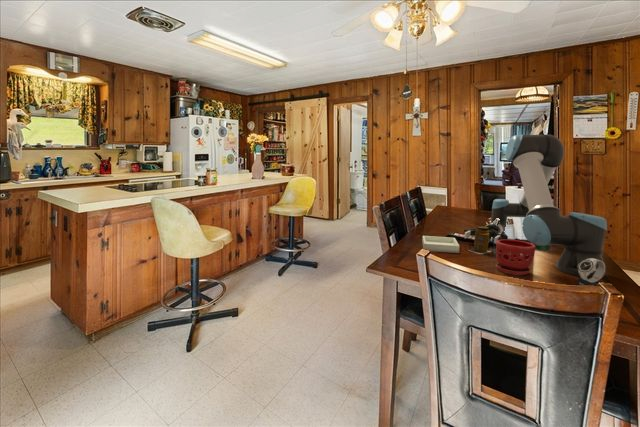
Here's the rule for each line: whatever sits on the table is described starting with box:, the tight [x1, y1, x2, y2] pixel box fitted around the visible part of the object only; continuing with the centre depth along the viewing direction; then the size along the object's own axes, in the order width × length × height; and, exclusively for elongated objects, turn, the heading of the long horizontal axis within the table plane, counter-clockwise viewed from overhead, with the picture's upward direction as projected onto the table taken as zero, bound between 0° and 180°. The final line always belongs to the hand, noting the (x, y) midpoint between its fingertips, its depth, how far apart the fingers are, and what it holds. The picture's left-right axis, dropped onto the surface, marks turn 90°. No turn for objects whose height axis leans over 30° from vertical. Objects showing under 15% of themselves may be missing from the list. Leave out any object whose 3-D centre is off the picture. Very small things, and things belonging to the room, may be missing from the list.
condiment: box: [467, 225, 492, 255], centre depth 152 cm, size 7×8×12 cm
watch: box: [576, 258, 606, 286], centre depth 108 cm, size 6×8×11 cm
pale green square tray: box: [421, 235, 460, 254], centre depth 159 cm, size 16×16×4 cm
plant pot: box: [495, 239, 536, 276], centre depth 126 cm, size 13×13×12 cm
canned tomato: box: [530, 242, 551, 252], centre depth 156 cm, size 8×8×11 cm
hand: (479, 238), depth 153 cm, fingers open, 13 cm apart
